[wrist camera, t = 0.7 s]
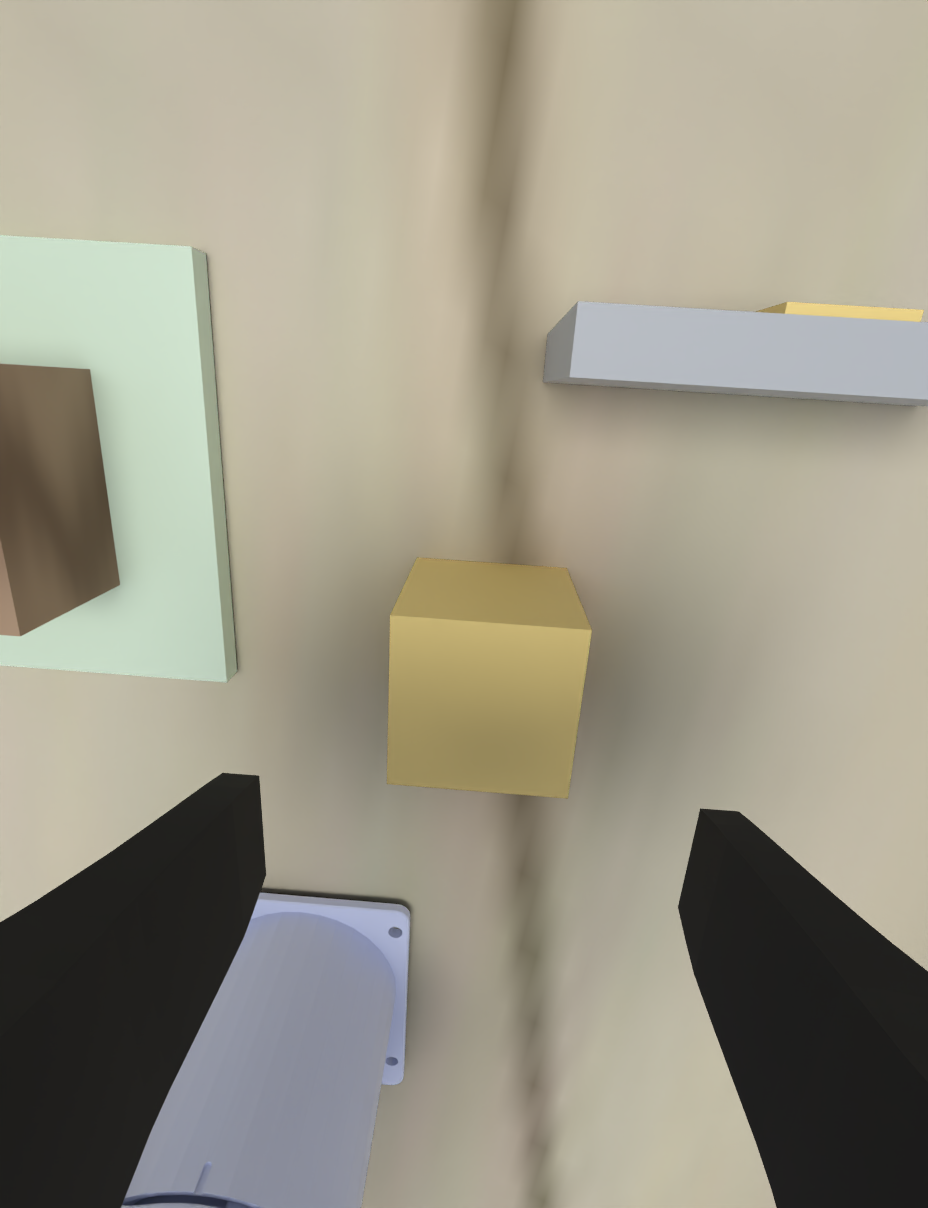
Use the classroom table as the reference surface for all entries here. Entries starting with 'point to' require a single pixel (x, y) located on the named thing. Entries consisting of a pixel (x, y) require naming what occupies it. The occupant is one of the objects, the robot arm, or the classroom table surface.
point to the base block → (51, 497)
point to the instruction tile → (746, 351)
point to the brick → (486, 678)
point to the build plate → (134, 449)
